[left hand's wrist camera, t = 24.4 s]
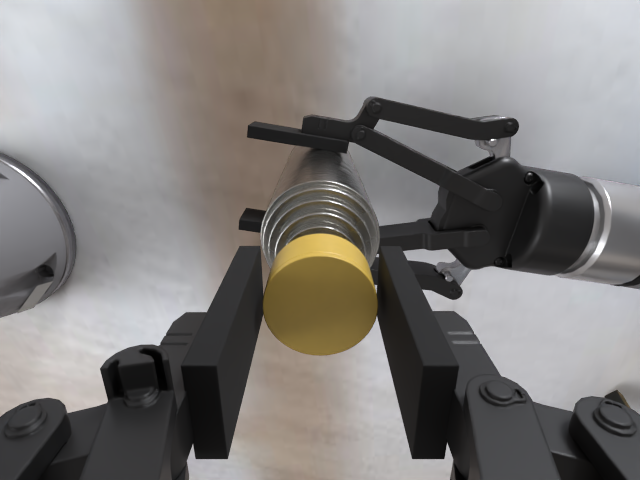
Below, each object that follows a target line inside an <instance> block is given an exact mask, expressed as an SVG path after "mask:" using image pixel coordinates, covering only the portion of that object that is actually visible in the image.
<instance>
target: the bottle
mask: <svg viewBox="0 0 640 480" xmlns="http://www.w3.org/2000/svg"><path fill="white" fill-rule="evenodd" d="M320 233H321V234H330V235H335V236H338V237H341V238H343V239H345V240H347V241H349V242H351V243H352V244H353V245H355V246H356V247H357V248H358V249H359V250H360V251H361V252H362V254H363V255H364V257H365V258H366V260H367V262H368V265H369V268H371V266H372V264H373V262H374V260H375V257H376V255H377V251H378V248H379V243H380V230H379V224H378V220H377V217H376V215H375V213H374V210H373V208H372V205H371V203H370V201H369V198H368V196H367V194H366V191H365V189H364V186H363V184H362V182H361V179H360V177H359V175H358V172H357V170H356V167H355V165H354V163H353V160H352V158H351V155H350V153H349V152H348V150H347V154H345V153H338V152H332V151H327V150H320V149H314V148H308V147H302V146H296V147H295V148H294V149H293V151H292V152H291V154H290V156H289V159H288V161H287V163H286V166H285V168H284V171H283V173H282V175H281V178H280V180H279V183H278V185H277V187H276V190H275V192H274V194H273V197H272V199H271V202H270V204H269V206H268V209H267V211H266V214H265V216H264V219H263V222H262V226H261V246H262V250H263V253H264V256H265V259H266V261H267V263H268V265H269V267H270V269H271V266H272V263H273V261H274V259H275V257H276V256H277V254H278V253H279V252H280V251H281V250H282V249H283V248H284V247H285V246H286V245H287V244H288V243H290V242H292V241H293V240H295V239H297V238H299V237H302V236H305V235H310V234H320Z"/></svg>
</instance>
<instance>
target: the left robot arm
mask: <svg viewBox="0 0 640 480" xmlns="http://www.w3.org/2000/svg"><path fill="white" fill-rule="evenodd" d="M75 257H76V240H75V234H74V229H73V226H72V223H71V220H70V218H69V216H68V213H67V211H66V209H65V208H64V206H63V204H62V203H61V201H60V200H59V198H58V197H57V195H56V194H55V193H54V192H53V190H52V189H51V188H50V187H49V186H48V185H47V184H46V183H45V182H44V181H43V180H42V179H41V178H40V177H39V176H38V175H37V174H35V173H34V172H33V171H32V170H30V169H29V168H27V167H26V166H25V165H23V164H22V163H20V162H18V161H16V160H15V159H13V158H11V157H9V156H6V155H4V154H2V153H0V318H1V317H4V316H7V315H10V314H13V313H17V312H18V313H19V312H22V311H25V310H28V309H31V308H34V306H35V305H36V304H38V303H40V302H42V301H43V300H45V299H46V298H48V297H49V296H50V295H51V294H53V293H54V292H55V291H56V290H58V289H59V288H60V287H61V286H62V285H63V284H64V282H65V281H66V280H67V278H68V277H69V275H70V273H71V271H72V268H73V266H74V262H75ZM377 299H378V311H377V317H378V321H379V325H380V330H381V334H382V338H383V342H384V346H385V350H386V354H387V358H388V362H389V366H390V370H391V374H392V378H393V382H394V387H395V391H396V395H397V399H398V403H399V407H400V411H401V415H402V419H403V423H404V427H405V431H406V435H407V439H408V444H409V448H410V452H411V456H412V459H444V457H445V451H446V445H447V443H448V445H449V448H450V451H451V454H452V457H453V459H454V460H453V466H452V472H451V477H450V480H640V415H639V414H638V413H637V412H636V411H634V410H632V409H630V408H629V407H627V406H625V405H623V404H621V403H619V402H616V401H613V400H610V399H607V398H602V397H593V396H591V397H585V398H581V399H580V400H579V401H578V402H577V403H576V404H575V407H574V410H573V412H572V411H567V410H563V409H559V408H554V407H550V406H546V405H542V404H539V403H536V402H533V401H532V399H531V398H530V396H529V395H528V393H527V392H526V391H525V390H524V389H523V388H522V387H521V386H519V385H518V384H517V383H515V382H513V381H511V380H509V379H507V378H505V377H502V376H501V375H500V374H499V372H498V370H497V369H496V367H495V366H494V364H493V362H492V361H491V359H490V357H489V356H488V354H487V353H486V351H485V349H484V348H483V346H482V345H481V344H480V341H479V340H478V338H477V336H476V335H475V334H474V332H473V330H472V328H471V327H470V325H469V324H468V322H467V321H466V320H465V319H464V318H462V317H461V316H460V315H458V314H457V313H456V312H454V311H432V309H431V307H430V305H429V303H428V301H427V299H426V297H425V295H424V293H423V291H422V289H421V287H420V285H419V283H418V281H417V279H416V277H415V275H414V273H413V271H412V269H411V267H410V265H409V263H408V261H407V259H406V257H405V255H404V253H403V251H402V248H401V246H380V249H379V266H378V282H377ZM262 317H263V282H262V266H261V249H260V246H239V248H238V251H237V253H236V255H235V257H234V259H233V261H232V263H231V265H230V267H229V269H228V271H227V273H226V275H225V277H224V279H223V281H222V283H221V285H220V287H219V289H218V291H217V293H216V295H215V297H214V299H213V301H212V303H211V305H210V307H209V309H208V311H207V312H186V313H185V314H183V315H182V316H181V317H179V318H178V319H177V320H176V321H174V322H173V323H172V325H171V327H170V328H169V330H168V332H167V333H166V336H164V338H163V340H162V341H161V344H160V345H159V346H156V345H138V346H134V347H129V348H127V349H124V350H122V351H120V352H118V353H116V354H114V355H113V356H112V357H110V358H109V359H108V360H106V361H105V363H104V364H103V366H102V367H101V368H100V370H101V374H102V378H103V382H104V386H105V390H106V394H107V398H108V402H107V403H106V404H103V405H100V406H97V407H93V408H88V409H84V410H80V411H75V412H71V413H67V410H66V407H65V405H64V404H63V403H62V402H61V401H60V400H57V399H52V398H44V399H36V400H33V401H30V402H27V403H24V404H21V405H19V406H17V407H15V408H13V409H11V410H10V411H8V412H6V413H5V414H3V415H2V416H1V417H0V480H189V472H188V466H187V459H188V456H189V453H190V450H191V447H192V444H193V445H194V451H195V458H196V459H228V456H229V452H230V448H231V443H232V439H233V435H234V431H235V427H236V423H237V419H238V415H239V411H240V407H241V403H242V399H243V395H244V391H245V387H246V382H247V378H248V374H249V370H250V366H251V362H252V358H253V354H254V350H255V346H256V342H257V338H258V334H259V330H260V325H261V321H262Z"/></svg>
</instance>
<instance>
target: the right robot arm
mask: <svg viewBox="0 0 640 480" xmlns="http://www.w3.org/2000/svg"><path fill="white" fill-rule="evenodd" d="M379 119H383V120H387V121H391V122H396V123H400V124H405V125H409V126H414V127H418V128H422V129H427V130H431V131H436V132H440V133H445V134H449V135H453V136H458V137H462V138H467V139H472V140H475V144H476V146H477V147H479V148H482V149H484V150H488V151H489V153H490V156H489V157H487V158H485V159H483V160H481V161H479V162H477V163H475V164H472V165H470V166H468V167H466V168H464V169H462V170H460V171H455V170H453V169H451V168H449V167H447V166H445V165H443V164H441V163H439V162H437V161H435V160H433V159H431V158H429V157H427V156H425V155H423V154H421V153H419V152H417V151H415V150H413V149H411V148H409V147H408V146H406V145H404V144H402V143H400V142H398V141H396V140H394V139H392V138H390V137H388V136H386V135H384V134H382V133H380V132H378V131H376V130H374V127H375V125H376V124H377V122H378V120H379ZM518 128H519V124H518V121H517V120H516V119H514V118H509V117H504V116H498V115H492V116H485V117H478V118H471V119H469V118H465V117H460V116H456V115H452V114H447V113H443V112H439V111H434V110H430V109H426V108H421V107H417V106H413V105H408V104H404V103H400V102H395V101H391V100H386V99H382V98H378V97H368V98H367V99H366V100H365V101H364V103H363V106H362V108H361V110H360V111H359V113H358V115H357V116H356V117H355V118H354V119H352V120H341V119H335V118H329V117H324V116H318V115H308V116H304V118H303V124H302V129H296V128H290V127H284V126H278V125H272V124H266V123H261V122H253V123H251V124H250V125H248V133H247V137H248V138H254V139H260V140H266V141H272V142H278V143H284V144H290V145H296V146H302V147H308V148H314V149H320V150H327V151H332V152H338V153H345V154H347V149H348V144H349V142H353V143H356V144H358V145H360V146H362V147H364V148H366V149H368V150H370V151H372V152H374V153H376V154H378V155H380V156H382V157H384V158H386V159H388V160H390V161H392V162H394V163H396V164H398V165H400V166H402V167H404V168H406V169H408V170H410V171H412V172H414V173H416V174H418V175H420V176H422V177H424V178H426V179H428V180H430V181H432V182H434V183H436V184H438V185H439V186H440V188H439V191H438V204H437V206H436V207H435V209H434V211H433V213H432V216H431V218H425V219H419V220H417V221H416V222H411V223H402V224H394V225H386V226H379V230H380V243H379V248H378V251H377V254H379V249H380V246H401V248H402V251H407V250H415V249H427V250H441V249H448V250H449V251H450V252H451V253H452V254H453V255H454V256H455V257H456V258H457V259H456V260H455V261H454V262H452V263H445V262H439V263H438V264H437V266H435V265H433V264H429V263H425V262H418V261H408V260H407V261H408V263H409V265H410V267H411V269H412V271H413V273H414V275H415V277H416V279H417V281H418V283H419V285H420V287H421V289H423V290H432V291H434V292H436V293H438V294H440V295H443V296H445V297H447V298H449V299H452V300H455V299H458V298H460V297H461V295H462V293H463V291H462V289H461V287H460V285H461V283H462V282H463V280H464V279H465V278H466V276H467V275H468V273H469V272H470V270H471V269H472V270H476V269H481V268H484V267H489V266H495V267H500V268H504V269H509V270H516V271H522V272H529V273H535V274H542V275H555V276H558V277H560V278H567V279H574V280H581V281H589V282H596V283H603V284H610V285H615V286H624V287H629V288H635V289H640V186H637V185H631V184H625V183H619V182H614V181H608V180H602V179H597V178H591V177H585V176H582V177H578V176H576V175H573V174H569V173H563V172H557V171H551V170H545V169H539V168H533V167H527V166H522V165H520V164H519V163H518V162H517V161H516V160H515V159H513V158H511V157H510V145H511V136H513V135H515V134H516V133H517V131H518ZM265 214H266V211H263V210H256V209H250V208H246V209H245V211H244V213H243V214H242V216H241V218H240V220H239V230H246V231H252V232H259V233H261V226H262V222H263V219H264V216H265ZM378 266H379V257H375V260H374V262H373V264H372V266H371V268H370V271H371V275H372V279H373V282H374V285H377V282H378Z"/></svg>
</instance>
